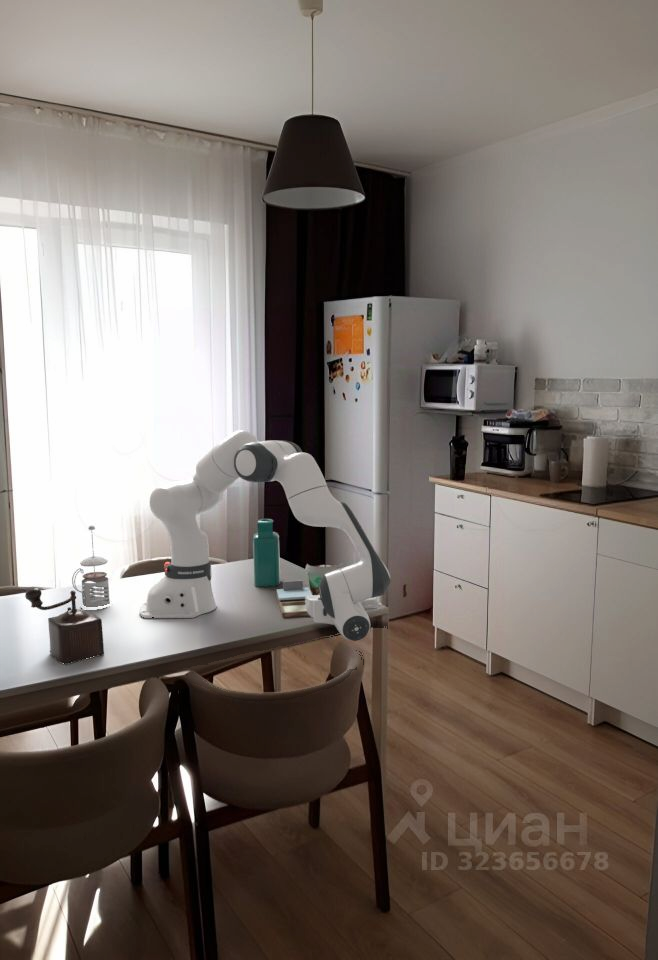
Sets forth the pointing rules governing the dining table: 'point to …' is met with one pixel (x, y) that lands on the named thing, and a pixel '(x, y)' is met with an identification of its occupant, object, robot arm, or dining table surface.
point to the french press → (94, 577)
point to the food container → (319, 575)
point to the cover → (293, 590)
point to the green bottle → (266, 555)
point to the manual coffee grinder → (71, 630)
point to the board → (292, 607)
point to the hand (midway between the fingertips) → (337, 594)
